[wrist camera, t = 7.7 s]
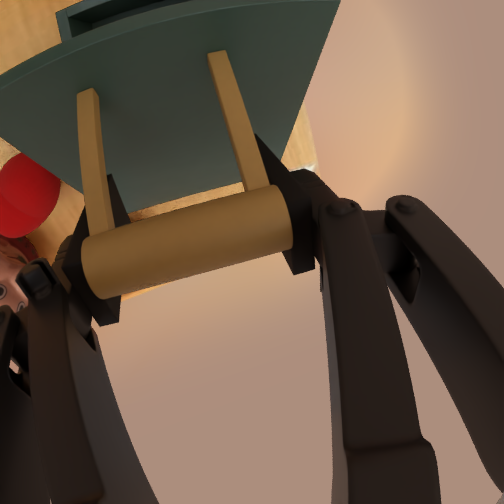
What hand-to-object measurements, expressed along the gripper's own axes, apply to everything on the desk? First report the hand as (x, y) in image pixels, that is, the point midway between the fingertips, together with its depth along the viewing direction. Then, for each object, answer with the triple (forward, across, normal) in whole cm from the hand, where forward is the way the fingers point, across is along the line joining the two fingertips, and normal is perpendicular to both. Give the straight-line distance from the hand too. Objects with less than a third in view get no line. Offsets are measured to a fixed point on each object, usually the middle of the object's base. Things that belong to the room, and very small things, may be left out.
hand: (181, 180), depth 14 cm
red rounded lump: (+20, -16, -2) cm, 26 cm away
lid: (+4, 0, +1) cm, 4 cm away
